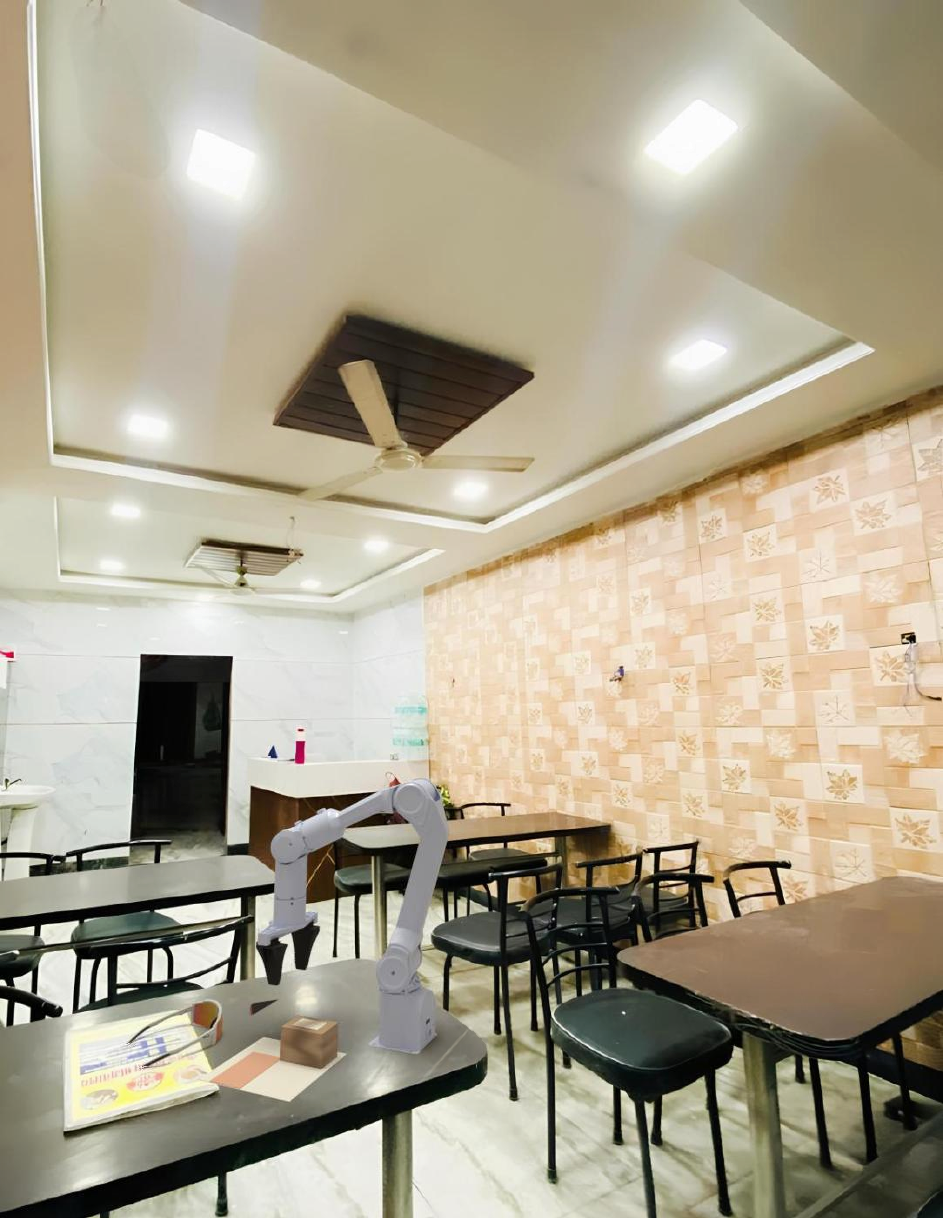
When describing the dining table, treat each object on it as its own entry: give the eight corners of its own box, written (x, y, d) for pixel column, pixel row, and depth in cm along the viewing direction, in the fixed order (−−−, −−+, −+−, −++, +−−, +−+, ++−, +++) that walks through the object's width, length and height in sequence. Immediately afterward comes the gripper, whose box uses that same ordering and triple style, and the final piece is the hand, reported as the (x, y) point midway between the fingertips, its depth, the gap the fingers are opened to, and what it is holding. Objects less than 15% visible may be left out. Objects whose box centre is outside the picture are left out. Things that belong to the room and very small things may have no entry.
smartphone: (288, 997, 131) (297, 1028, 117) (288, 1002, 130) (297, 1033, 117) (250, 1003, 128) (254, 1035, 114) (250, 1008, 128) (253, 1041, 114)
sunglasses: (236, 1045, 112) (233, 1015, 113) (140, 1089, 103) (138, 1056, 103) (209, 1018, 123) (207, 990, 123) (121, 1056, 113) (119, 1026, 114)
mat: (346, 1057, 107) (346, 1053, 107) (289, 1106, 93) (289, 1100, 94) (263, 1040, 113) (263, 1036, 113) (198, 1083, 100) (198, 1078, 100)
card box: (337, 1056, 106) (338, 1022, 107) (321, 1069, 102) (322, 1033, 103) (297, 1047, 109) (298, 1014, 110) (279, 1060, 105) (281, 1025, 106)
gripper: (297, 885, 127) (295, 960, 125) (245, 904, 114) (241, 988, 112) (327, 888, 125) (325, 965, 122) (277, 907, 112) (274, 993, 109)
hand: (287, 976), depth 117 cm, fingers open, 7 cm apart
